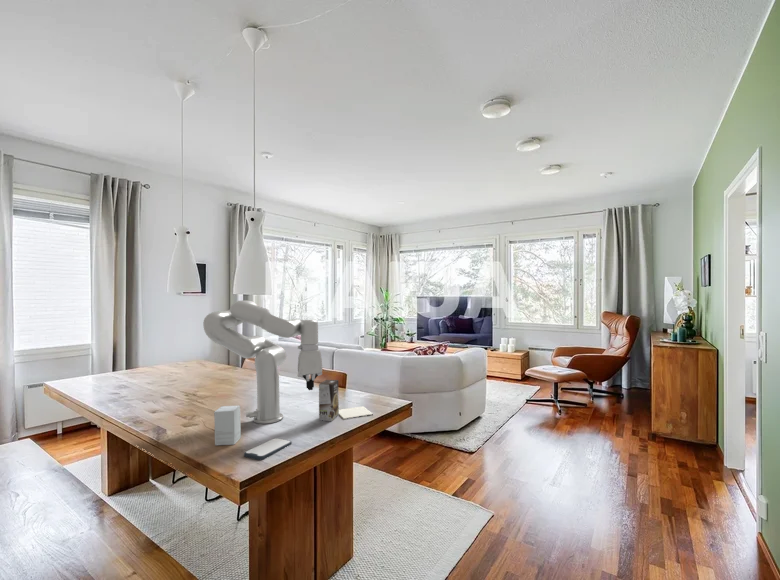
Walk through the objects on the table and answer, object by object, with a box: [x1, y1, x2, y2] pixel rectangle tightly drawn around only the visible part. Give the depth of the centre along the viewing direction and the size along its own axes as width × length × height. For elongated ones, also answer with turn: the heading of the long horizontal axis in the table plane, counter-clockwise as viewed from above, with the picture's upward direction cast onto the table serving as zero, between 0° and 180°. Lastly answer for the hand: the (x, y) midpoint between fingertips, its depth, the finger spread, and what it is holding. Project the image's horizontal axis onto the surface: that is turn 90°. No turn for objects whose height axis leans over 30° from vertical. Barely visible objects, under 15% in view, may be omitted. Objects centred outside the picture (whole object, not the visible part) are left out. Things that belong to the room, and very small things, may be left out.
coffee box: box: [318, 379, 340, 422], centre depth 170 cm, size 9×6×16 cm
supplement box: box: [213, 405, 242, 446], centre depth 143 cm, size 7×7×13 cm
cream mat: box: [338, 405, 374, 420], centre depth 176 cm, size 14×13×1 cm
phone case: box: [243, 437, 293, 461], centre depth 135 cm, size 9×2×16 cm
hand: (310, 389), depth 167 cm, fingers closed
